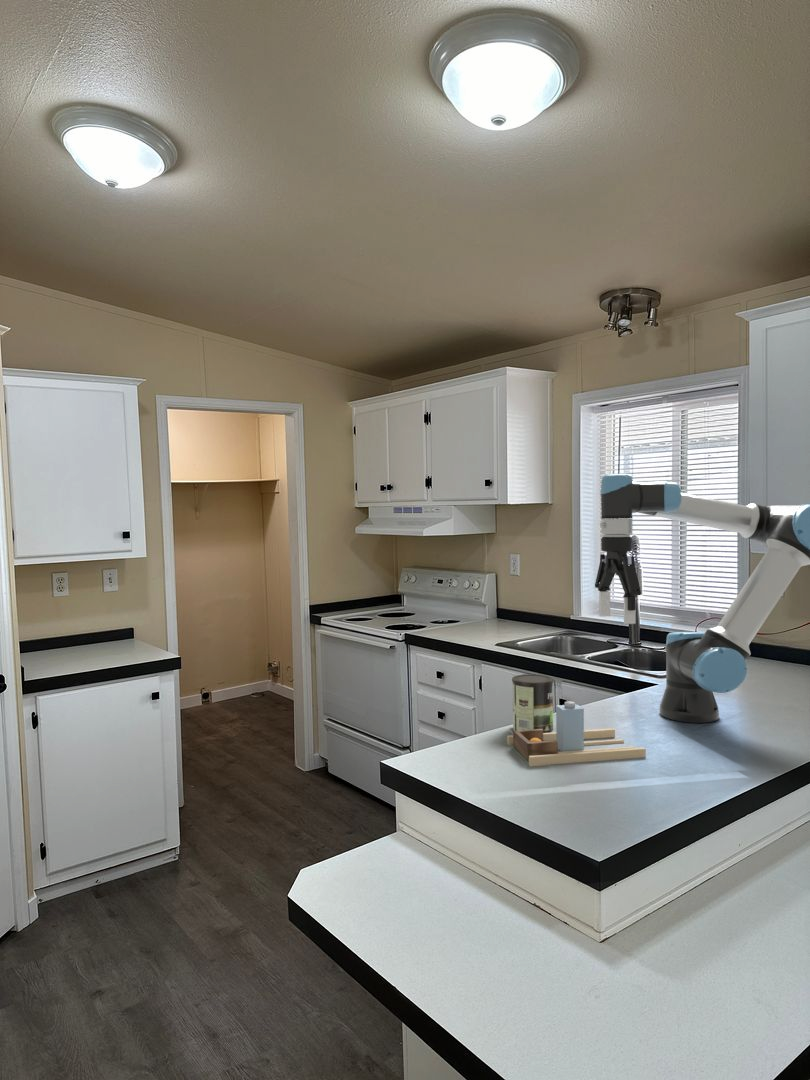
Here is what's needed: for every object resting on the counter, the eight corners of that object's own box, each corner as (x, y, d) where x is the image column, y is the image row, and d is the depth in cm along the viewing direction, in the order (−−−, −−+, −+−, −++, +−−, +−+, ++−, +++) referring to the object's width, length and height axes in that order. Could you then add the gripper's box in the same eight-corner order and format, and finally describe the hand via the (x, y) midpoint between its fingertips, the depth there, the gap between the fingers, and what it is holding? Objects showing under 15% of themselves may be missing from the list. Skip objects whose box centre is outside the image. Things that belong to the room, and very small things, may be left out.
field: (613, 740, 178) (613, 728, 178) (645, 762, 162) (645, 748, 162) (507, 747, 173) (507, 735, 173) (530, 771, 158) (530, 757, 158)
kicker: (576, 746, 170) (576, 699, 170) (583, 752, 166) (583, 704, 166) (556, 748, 169) (556, 701, 169) (563, 753, 165) (562, 705, 165)
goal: (541, 745, 172) (541, 728, 172) (557, 759, 162) (557, 741, 162) (513, 747, 170) (513, 730, 170) (527, 761, 161) (527, 743, 161)
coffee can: (553, 728, 189) (553, 674, 189) (553, 740, 179) (553, 683, 178) (513, 726, 191) (513, 673, 191) (511, 738, 181) (510, 682, 180)
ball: (529, 753, 168) (542, 746, 168) (534, 758, 164) (548, 751, 165) (523, 740, 167) (536, 733, 168) (528, 745, 164) (541, 737, 164)
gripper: (582, 534, 195) (582, 613, 195) (626, 537, 170) (626, 627, 171) (608, 534, 196) (608, 612, 197) (655, 536, 171) (655, 626, 172)
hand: (616, 619), depth 184 cm, fingers open, 13 cm apart
